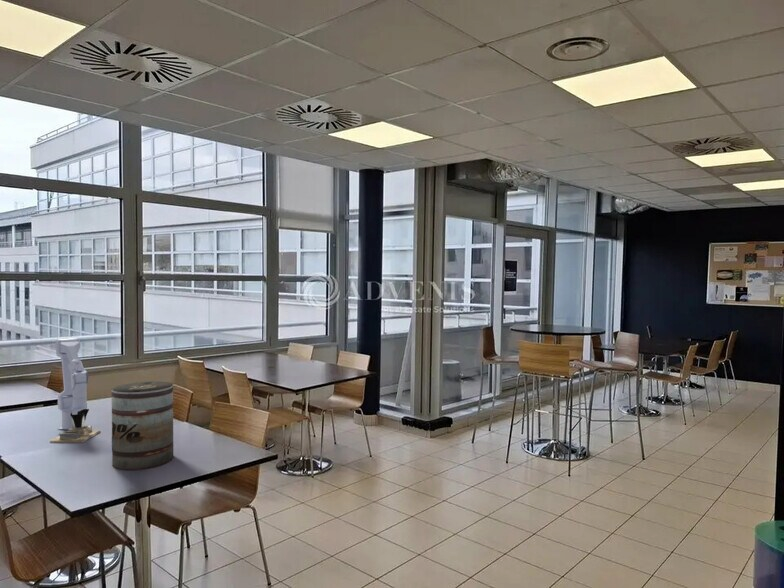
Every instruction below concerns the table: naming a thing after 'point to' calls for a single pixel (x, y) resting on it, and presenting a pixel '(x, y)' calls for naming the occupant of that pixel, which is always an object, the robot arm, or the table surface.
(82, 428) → the brushed aluminum block
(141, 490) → the table surface
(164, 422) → the barrel
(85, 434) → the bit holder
